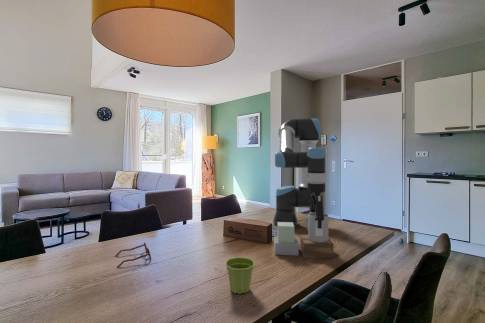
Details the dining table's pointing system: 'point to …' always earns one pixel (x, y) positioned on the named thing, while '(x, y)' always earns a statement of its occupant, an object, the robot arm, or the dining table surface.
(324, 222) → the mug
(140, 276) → the dining table surface
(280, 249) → the slate block
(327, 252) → the walnut plinth
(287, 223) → the sage cube
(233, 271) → the plant pot
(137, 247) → the glasses
